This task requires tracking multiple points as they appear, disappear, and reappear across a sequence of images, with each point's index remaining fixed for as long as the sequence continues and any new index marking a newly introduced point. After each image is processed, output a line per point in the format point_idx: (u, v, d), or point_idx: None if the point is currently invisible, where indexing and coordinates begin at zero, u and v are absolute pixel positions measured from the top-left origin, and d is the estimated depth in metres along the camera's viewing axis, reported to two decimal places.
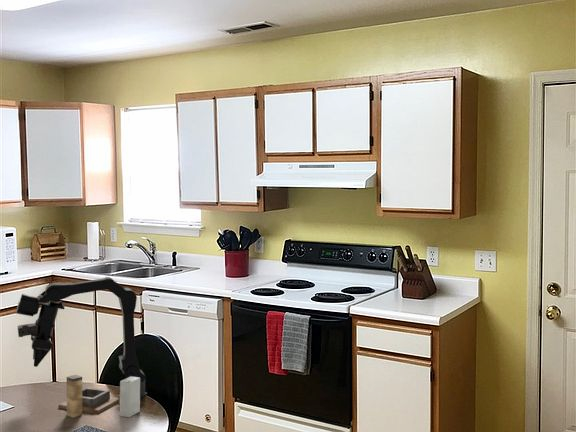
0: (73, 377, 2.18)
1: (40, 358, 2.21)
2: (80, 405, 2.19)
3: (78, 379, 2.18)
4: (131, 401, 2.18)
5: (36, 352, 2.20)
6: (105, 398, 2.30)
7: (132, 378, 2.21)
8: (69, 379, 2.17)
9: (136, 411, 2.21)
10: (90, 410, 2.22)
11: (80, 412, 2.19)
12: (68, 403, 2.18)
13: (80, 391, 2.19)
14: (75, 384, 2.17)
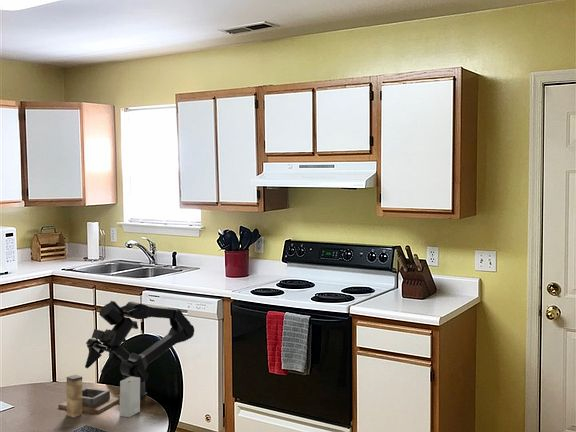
0: (73, 377, 2.18)
1: (111, 366, 2.24)
2: (80, 405, 2.19)
3: (78, 379, 2.18)
4: (131, 401, 2.18)
5: (111, 359, 2.23)
6: (105, 398, 2.30)
7: (132, 378, 2.21)
8: (69, 379, 2.18)
9: (136, 411, 2.21)
10: (90, 410, 2.22)
11: (80, 412, 2.19)
12: (68, 403, 2.18)
13: (80, 391, 2.19)
14: (75, 384, 2.17)
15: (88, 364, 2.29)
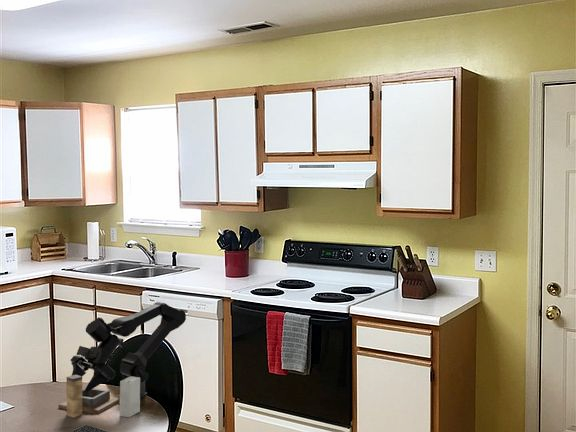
0: (73, 377, 2.18)
1: (95, 384, 2.19)
2: (80, 405, 2.19)
3: (78, 379, 2.18)
4: (131, 401, 2.18)
5: (96, 377, 2.18)
6: (105, 398, 2.30)
7: (132, 378, 2.21)
8: (69, 379, 2.17)
9: (136, 411, 2.21)
10: (90, 410, 2.22)
11: (80, 412, 2.19)
12: (68, 403, 2.18)
13: (80, 391, 2.19)
14: (75, 384, 2.17)
15: None
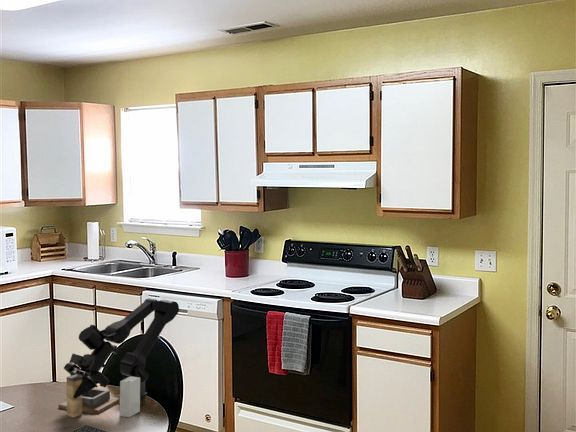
0: (73, 377, 2.18)
1: (84, 391, 2.18)
2: (80, 405, 2.19)
3: (78, 379, 2.18)
4: (131, 401, 2.18)
5: (84, 383, 2.18)
6: (105, 398, 2.30)
7: (132, 378, 2.21)
8: (69, 379, 2.17)
9: (136, 411, 2.21)
10: (90, 410, 2.22)
11: (80, 412, 2.19)
12: (68, 403, 2.18)
13: None
14: (75, 384, 2.17)
15: None
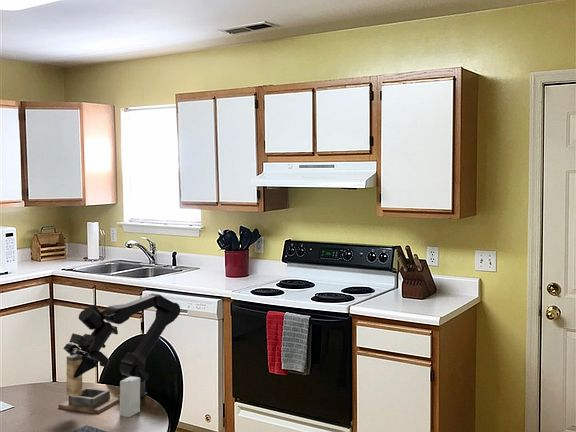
0: (73, 356, 2.18)
1: (84, 370, 2.18)
2: (80, 385, 2.19)
3: (78, 359, 2.18)
4: (131, 401, 2.18)
5: (84, 363, 2.18)
6: (105, 398, 2.30)
7: (132, 378, 2.21)
8: (69, 359, 2.17)
9: (136, 411, 2.21)
10: (90, 410, 2.22)
11: (80, 392, 2.19)
12: (68, 382, 2.18)
13: None
14: (75, 363, 2.17)
15: None
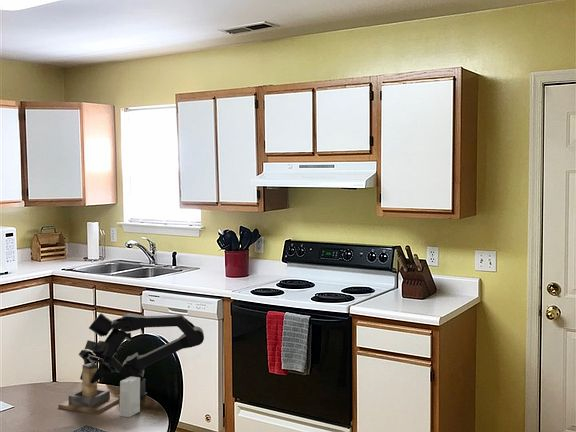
0: (89, 365, 2.28)
1: (100, 376, 2.28)
2: (95, 392, 2.29)
3: (93, 367, 2.28)
4: (131, 401, 2.18)
5: (101, 369, 2.27)
6: (105, 398, 2.30)
7: (132, 378, 2.21)
8: (85, 367, 2.27)
9: (136, 411, 2.21)
10: (90, 410, 2.22)
11: None
12: (83, 390, 2.28)
13: None
14: (90, 372, 2.27)
15: None
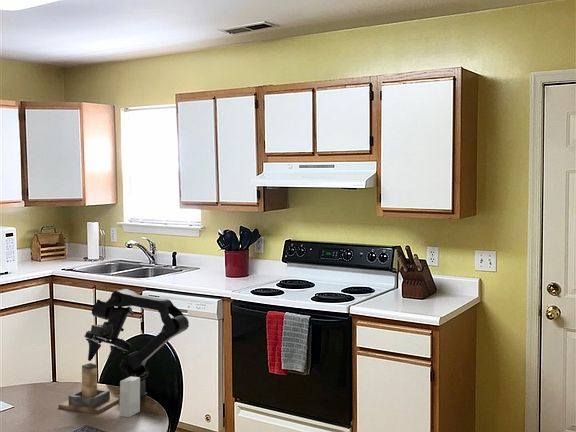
0: (88, 365, 2.28)
1: (114, 358, 2.33)
2: (95, 392, 2.29)
3: (93, 367, 2.28)
4: (131, 401, 2.18)
5: (113, 352, 2.32)
6: (105, 398, 2.30)
7: (132, 378, 2.21)
8: (84, 367, 2.27)
9: (136, 411, 2.21)
10: (90, 410, 2.22)
11: None
12: (83, 390, 2.28)
13: (95, 379, 2.29)
14: (90, 372, 2.27)
15: (90, 357, 2.37)
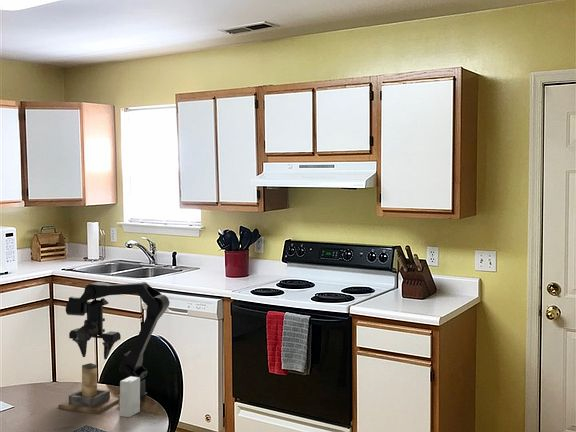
0: (88, 365, 2.28)
1: (109, 350, 2.41)
2: (95, 392, 2.29)
3: (93, 367, 2.28)
4: (131, 401, 2.18)
5: (107, 346, 2.39)
6: (105, 398, 2.30)
7: (132, 378, 2.21)
8: (84, 367, 2.27)
9: (136, 411, 2.21)
10: (90, 410, 2.22)
11: None
12: (83, 390, 2.28)
13: (95, 379, 2.29)
14: (90, 372, 2.27)
15: (84, 353, 2.43)
